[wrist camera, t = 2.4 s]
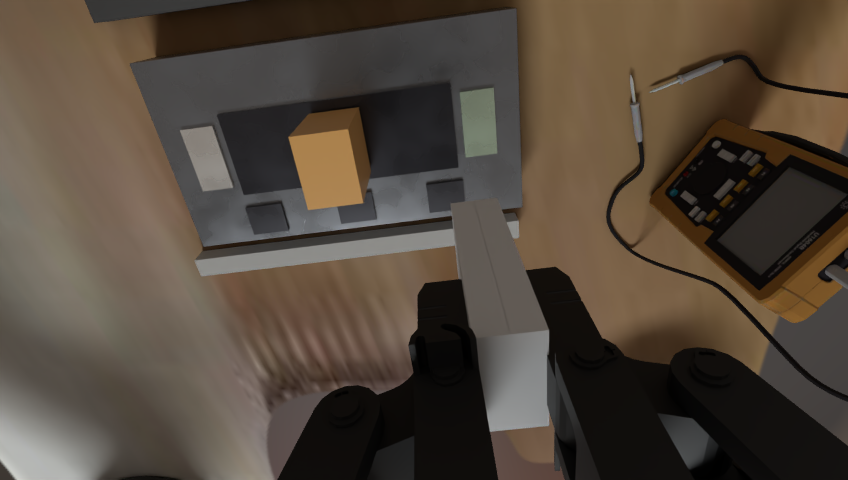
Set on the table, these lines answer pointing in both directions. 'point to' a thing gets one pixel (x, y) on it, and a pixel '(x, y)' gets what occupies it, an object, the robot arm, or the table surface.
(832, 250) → the multimeter
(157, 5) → the dark grey bar
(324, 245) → the light grey rod
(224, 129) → the grey control panel
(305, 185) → the orange rectangular block
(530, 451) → the table surface
